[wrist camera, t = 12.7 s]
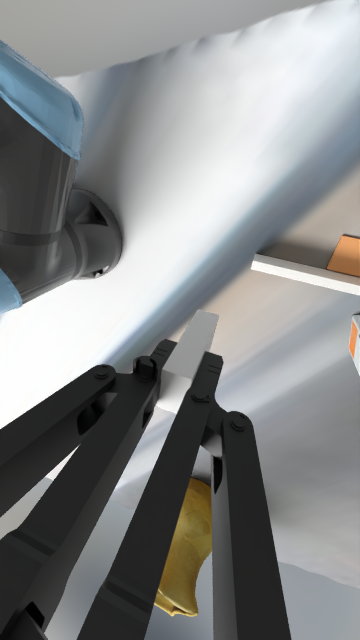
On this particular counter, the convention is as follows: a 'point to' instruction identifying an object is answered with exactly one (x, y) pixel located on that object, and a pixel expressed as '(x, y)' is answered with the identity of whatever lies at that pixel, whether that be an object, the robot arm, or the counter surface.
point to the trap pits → (346, 256)
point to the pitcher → (187, 552)
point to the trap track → (307, 274)
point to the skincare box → (355, 341)
